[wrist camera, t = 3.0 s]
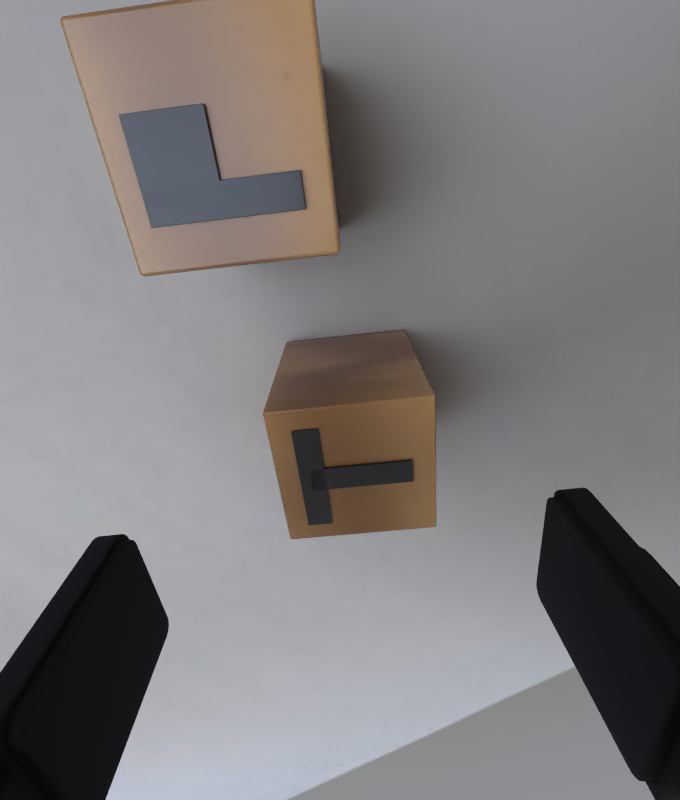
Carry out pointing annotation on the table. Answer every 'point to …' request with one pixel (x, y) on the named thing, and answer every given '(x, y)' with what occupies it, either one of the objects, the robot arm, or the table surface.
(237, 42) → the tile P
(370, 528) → the tile
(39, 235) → the table surface
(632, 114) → the table surface
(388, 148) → the table surface
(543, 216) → the table surface
